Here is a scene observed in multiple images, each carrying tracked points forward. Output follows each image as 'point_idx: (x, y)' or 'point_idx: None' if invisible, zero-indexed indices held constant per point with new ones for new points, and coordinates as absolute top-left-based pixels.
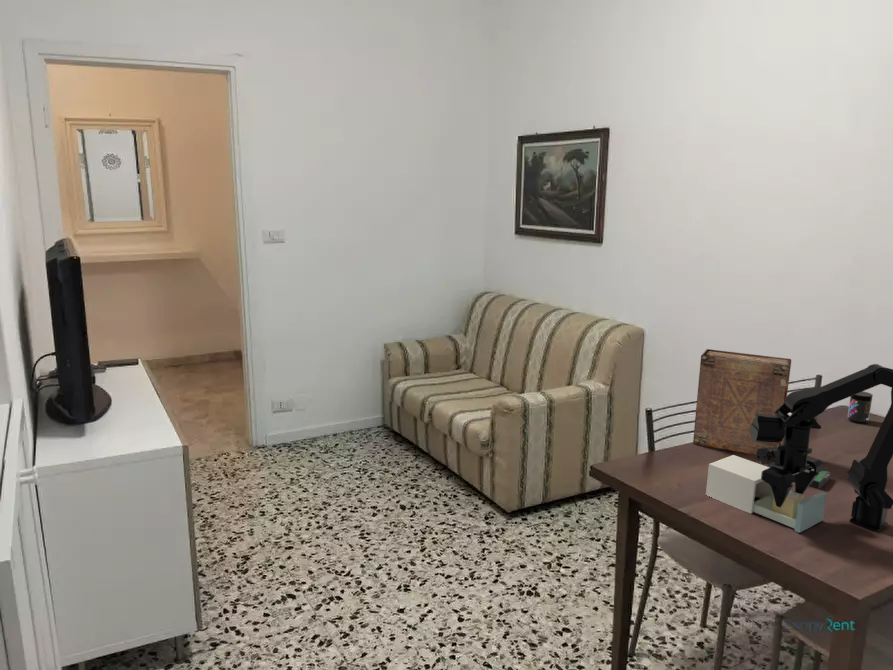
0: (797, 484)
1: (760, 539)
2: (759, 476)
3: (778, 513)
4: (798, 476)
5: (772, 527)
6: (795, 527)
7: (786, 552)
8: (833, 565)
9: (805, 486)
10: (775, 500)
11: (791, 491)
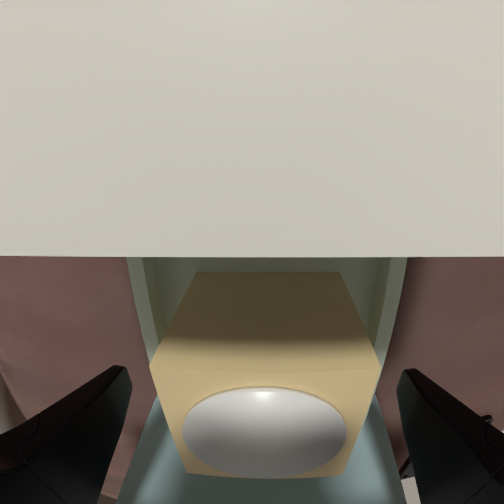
0: (446, 447)
1: (11, 326)
2: (12, 166)
3: (152, 343)
4: (484, 501)
5: (103, 319)
6: (153, 406)
7: (41, 398)
8: (112, 469)
9: (421, 487)
10: (83, 389)
11: (328, 436)
